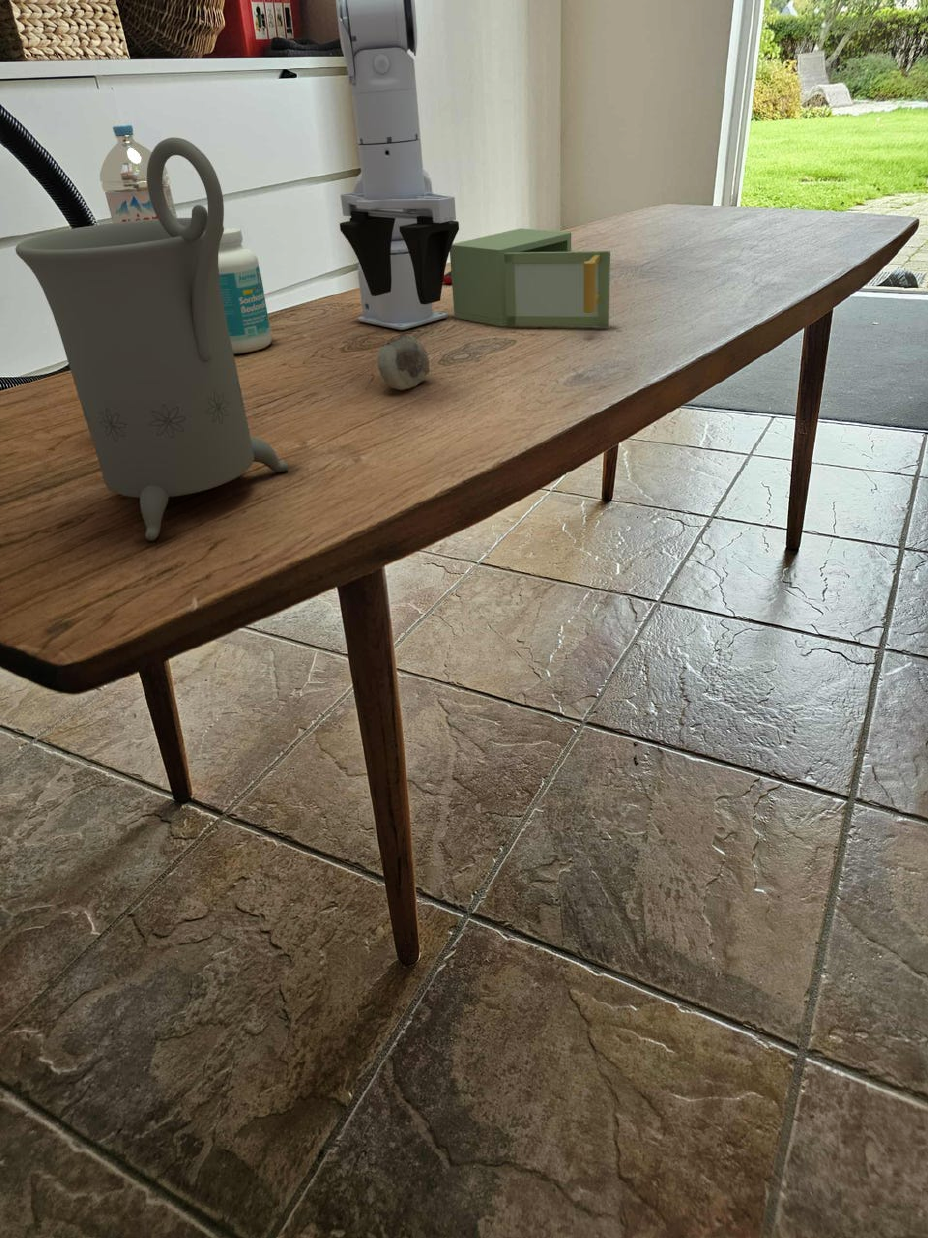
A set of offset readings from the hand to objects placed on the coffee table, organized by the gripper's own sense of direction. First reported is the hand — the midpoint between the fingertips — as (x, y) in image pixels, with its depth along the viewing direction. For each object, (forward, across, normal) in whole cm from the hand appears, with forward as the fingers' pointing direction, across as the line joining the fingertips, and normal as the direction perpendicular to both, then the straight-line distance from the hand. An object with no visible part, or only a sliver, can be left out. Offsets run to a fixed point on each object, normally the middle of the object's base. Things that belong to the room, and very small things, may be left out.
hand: (405, 297), depth 86 cm
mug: (+9, +8, -30) cm, 32 cm away
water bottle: (+9, -27, -12) cm, 31 cm away
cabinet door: (+8, -1, +23) cm, 25 cm away
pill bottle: (+9, -30, -2) cm, 32 cm away
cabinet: (+9, -13, +29) cm, 33 cm away
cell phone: (+9, -35, +44) cm, 57 cm away
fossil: (+9, 0, -1) cm, 9 cm away
